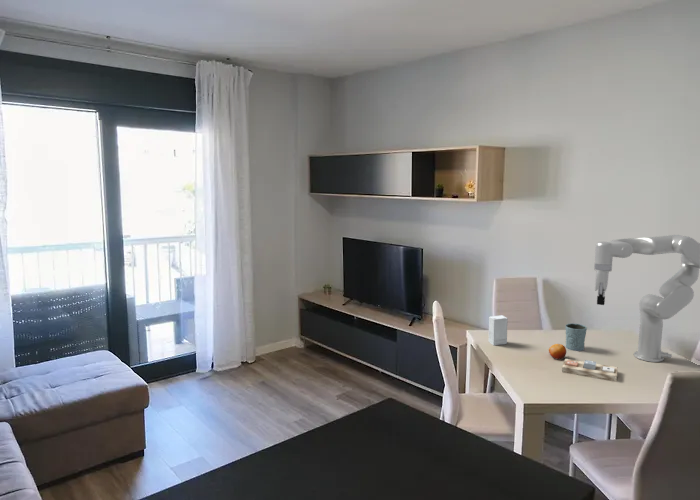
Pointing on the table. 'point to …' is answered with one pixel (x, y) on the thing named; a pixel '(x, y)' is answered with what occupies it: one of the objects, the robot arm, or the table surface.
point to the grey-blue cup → (575, 336)
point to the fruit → (557, 351)
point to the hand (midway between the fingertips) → (600, 304)
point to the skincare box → (498, 330)
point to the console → (590, 371)
